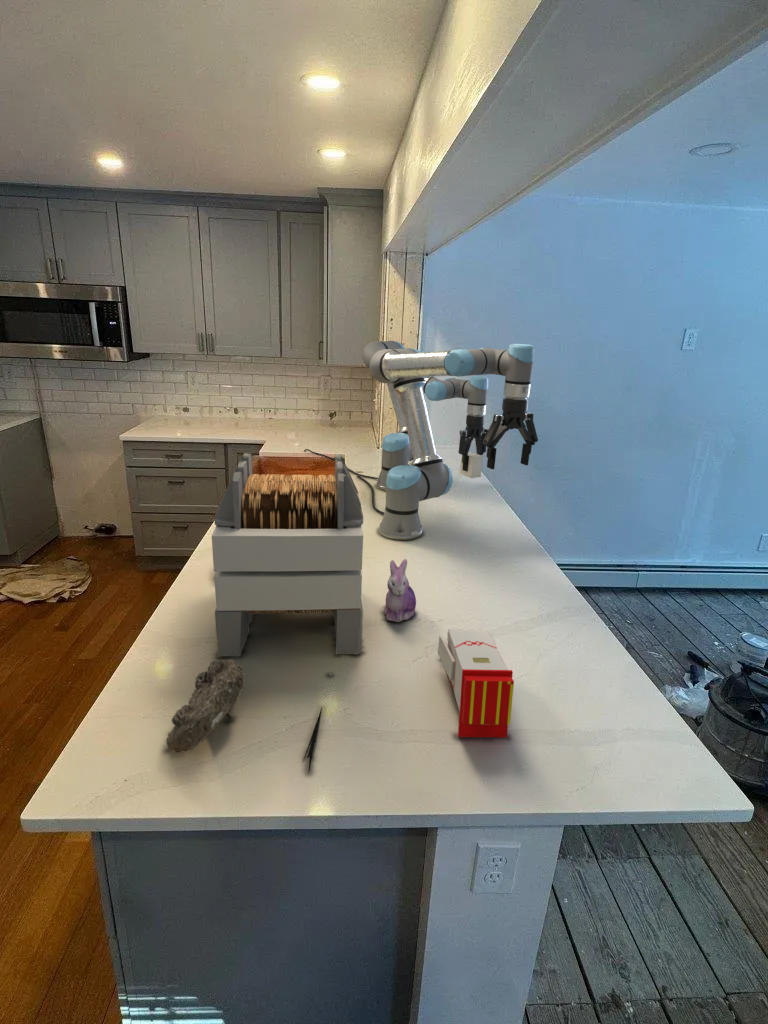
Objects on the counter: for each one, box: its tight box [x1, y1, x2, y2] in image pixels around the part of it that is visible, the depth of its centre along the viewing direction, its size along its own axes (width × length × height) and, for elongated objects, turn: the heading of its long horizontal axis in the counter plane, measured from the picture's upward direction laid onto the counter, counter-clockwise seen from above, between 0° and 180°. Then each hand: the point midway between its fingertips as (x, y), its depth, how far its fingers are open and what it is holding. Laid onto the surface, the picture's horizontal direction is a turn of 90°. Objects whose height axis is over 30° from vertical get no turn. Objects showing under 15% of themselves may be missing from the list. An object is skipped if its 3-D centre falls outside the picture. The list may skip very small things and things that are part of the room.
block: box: [459, 451, 484, 479], centre depth 239 cm, size 5×8×9 cm
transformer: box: [211, 452, 364, 658], centre depth 136 cm, size 34×33×41 cm
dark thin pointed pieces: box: [301, 673, 332, 771], centre depth 108 cm, size 2×28×2 cm
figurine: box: [384, 558, 417, 623], centre depth 145 cm, size 9×10×15 cm
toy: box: [437, 628, 515, 738], centre depth 117 cm, size 12×13×30 cm
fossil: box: [166, 658, 245, 754], centre depth 106 cm, size 22×10×15 cm
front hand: (507, 466), depth 177 cm, fingers open, 13 cm apart
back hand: (470, 469), depth 240 cm, fingers closed on block, 5 cm apart
